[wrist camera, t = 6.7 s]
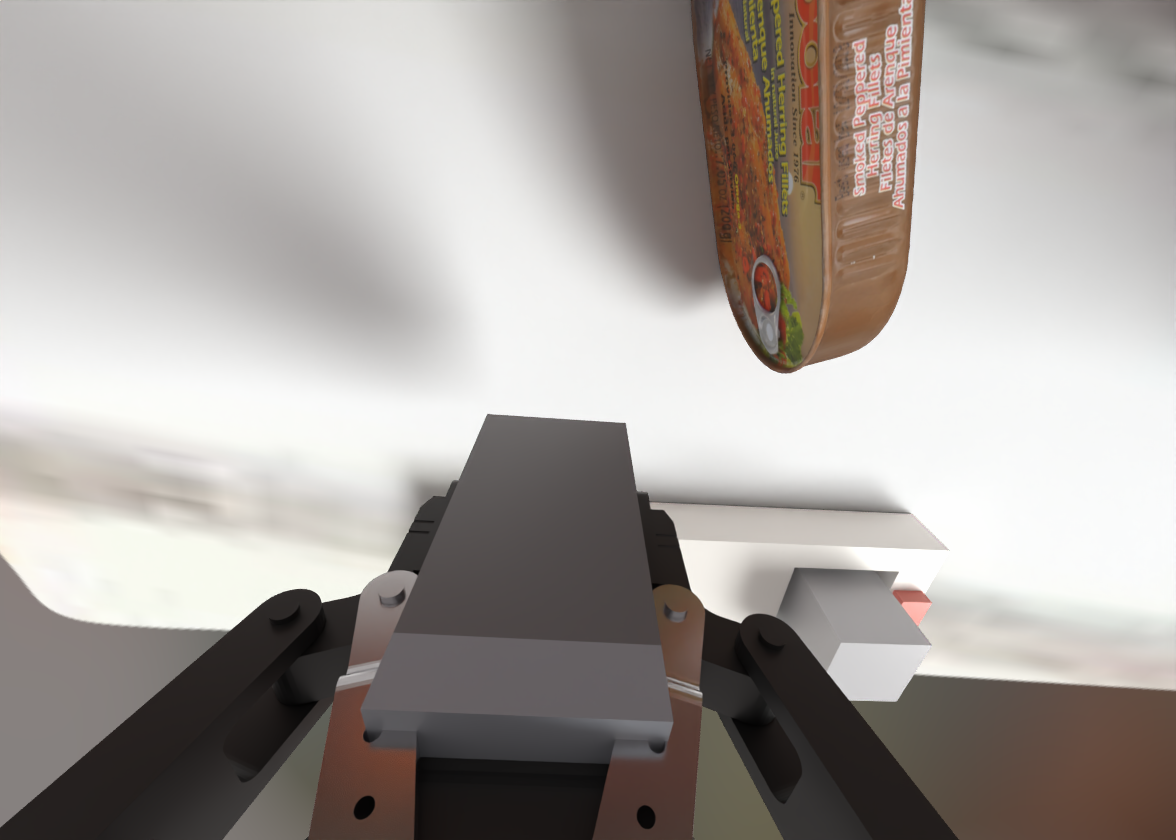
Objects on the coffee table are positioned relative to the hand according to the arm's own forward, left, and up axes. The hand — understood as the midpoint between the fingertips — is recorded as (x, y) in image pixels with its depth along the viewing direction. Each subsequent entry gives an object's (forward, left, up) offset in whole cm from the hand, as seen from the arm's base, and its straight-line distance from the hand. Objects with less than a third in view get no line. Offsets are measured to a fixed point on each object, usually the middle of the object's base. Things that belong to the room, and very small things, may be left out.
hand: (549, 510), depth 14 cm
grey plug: (+11, +16, -10) cm, 22 cm away
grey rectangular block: (0, 0, -2) cm, 2 cm away
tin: (-11, +7, -10) cm, 16 cm away
